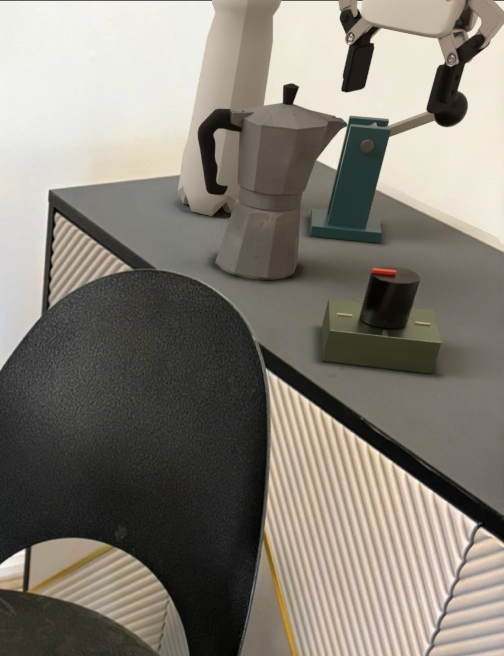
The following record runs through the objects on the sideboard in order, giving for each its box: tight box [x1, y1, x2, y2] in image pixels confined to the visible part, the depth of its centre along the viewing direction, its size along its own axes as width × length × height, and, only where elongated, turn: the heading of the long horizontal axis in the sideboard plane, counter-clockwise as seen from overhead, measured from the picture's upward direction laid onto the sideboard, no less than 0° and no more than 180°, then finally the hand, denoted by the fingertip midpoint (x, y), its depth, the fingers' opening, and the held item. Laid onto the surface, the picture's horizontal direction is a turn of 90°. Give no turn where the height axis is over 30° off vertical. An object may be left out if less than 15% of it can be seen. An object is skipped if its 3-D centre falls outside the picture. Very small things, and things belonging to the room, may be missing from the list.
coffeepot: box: [197, 82, 348, 281], centre depth 118 cm, size 15×9×18 cm, turn 93°
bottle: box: [177, 0, 282, 217], centre depth 129 cm, size 9×9×30 cm
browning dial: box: [360, 265, 421, 329], centre depth 104 cm, size 4×4×4 cm
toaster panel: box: [320, 298, 442, 375], centre depth 106 cm, size 10×9×3 cm
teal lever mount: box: [309, 115, 391, 244], centre depth 130 cm, size 8×7×12 cm
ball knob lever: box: [367, 90, 469, 138], centre depth 125 cm, size 12×4×4 cm, turn 77°
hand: (393, 100), depth 109 cm, fingers open, 9 cm apart
